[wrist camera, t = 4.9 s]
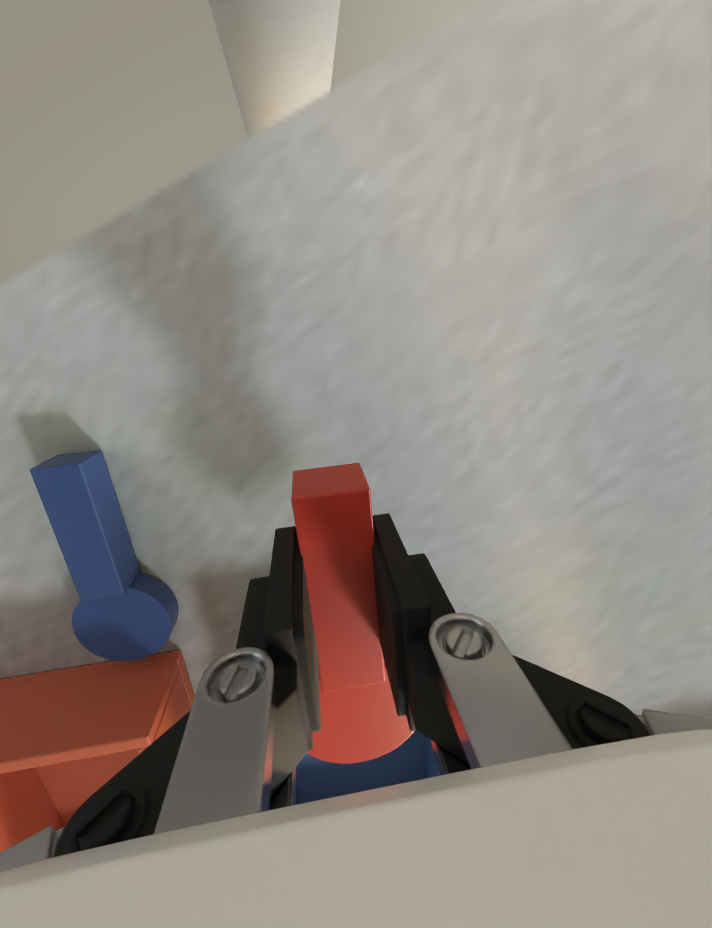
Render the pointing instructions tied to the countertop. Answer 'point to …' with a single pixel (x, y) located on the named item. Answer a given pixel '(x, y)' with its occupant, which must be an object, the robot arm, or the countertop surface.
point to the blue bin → (365, 771)
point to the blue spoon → (103, 561)
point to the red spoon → (345, 615)
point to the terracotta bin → (79, 734)
